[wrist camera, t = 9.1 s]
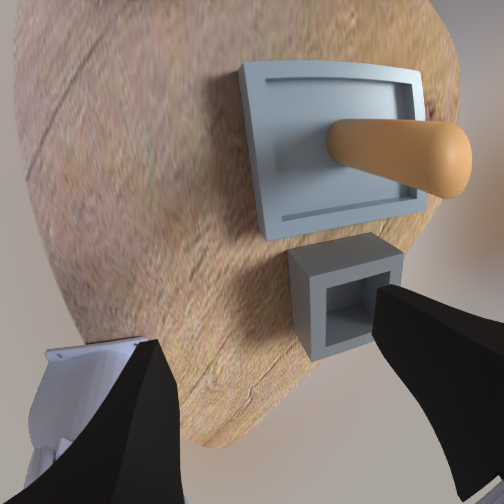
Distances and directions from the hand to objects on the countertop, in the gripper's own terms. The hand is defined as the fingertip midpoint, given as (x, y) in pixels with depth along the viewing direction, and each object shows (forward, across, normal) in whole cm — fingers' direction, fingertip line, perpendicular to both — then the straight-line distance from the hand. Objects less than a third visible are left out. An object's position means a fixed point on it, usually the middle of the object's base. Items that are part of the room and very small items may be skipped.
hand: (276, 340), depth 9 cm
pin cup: (+10, -7, +5) cm, 13 cm away
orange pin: (+10, -8, -5) cm, 13 cm away
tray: (+10, -8, -5) cm, 14 cm away
